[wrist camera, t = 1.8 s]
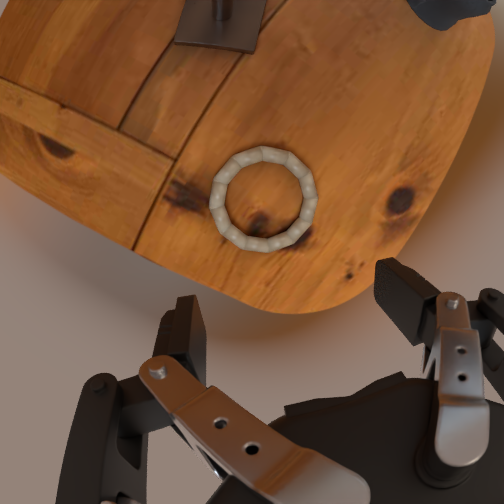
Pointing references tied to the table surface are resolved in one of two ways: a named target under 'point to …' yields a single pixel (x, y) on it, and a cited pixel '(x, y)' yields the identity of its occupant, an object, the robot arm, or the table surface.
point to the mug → (449, 11)
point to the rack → (221, 24)
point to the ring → (245, 160)
